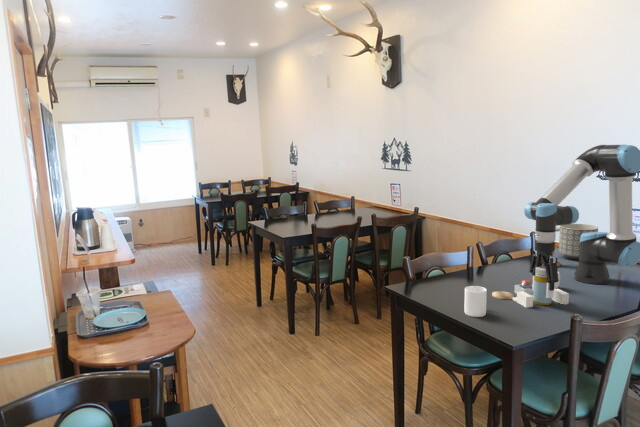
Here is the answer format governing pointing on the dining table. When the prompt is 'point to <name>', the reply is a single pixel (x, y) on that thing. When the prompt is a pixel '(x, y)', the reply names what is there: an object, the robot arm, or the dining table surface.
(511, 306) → the dining table surface
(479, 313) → the cup
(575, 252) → the planter
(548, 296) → the robot arm
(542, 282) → the bottle
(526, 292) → the housing
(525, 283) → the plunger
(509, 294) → the pad
